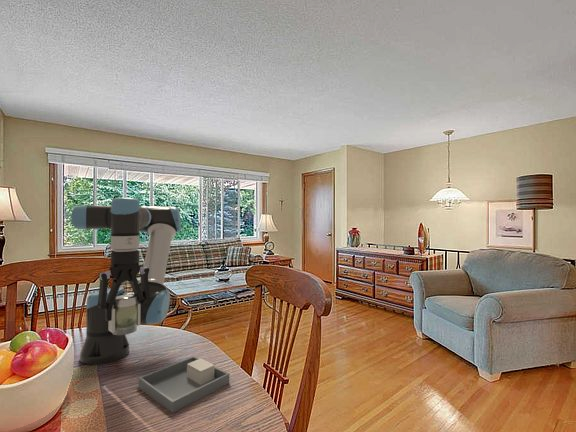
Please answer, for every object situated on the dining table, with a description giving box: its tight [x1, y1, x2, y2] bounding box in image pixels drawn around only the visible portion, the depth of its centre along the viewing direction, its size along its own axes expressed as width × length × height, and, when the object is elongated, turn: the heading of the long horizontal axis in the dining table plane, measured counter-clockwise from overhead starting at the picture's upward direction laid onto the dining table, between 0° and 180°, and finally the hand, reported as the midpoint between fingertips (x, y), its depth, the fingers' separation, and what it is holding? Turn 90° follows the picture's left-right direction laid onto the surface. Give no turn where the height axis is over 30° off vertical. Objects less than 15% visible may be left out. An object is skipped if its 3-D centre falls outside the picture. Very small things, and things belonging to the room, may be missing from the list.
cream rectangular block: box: [187, 358, 215, 385], centre depth 93 cm, size 7×5×4 cm
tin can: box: [112, 295, 138, 336], centre depth 91 cm, size 6×6×10 cm
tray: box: [137, 355, 230, 414], centre depth 88 cm, size 18×18×4 cm
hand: (124, 327), depth 91 cm, fingers closed on tin can, 6 cm apart
